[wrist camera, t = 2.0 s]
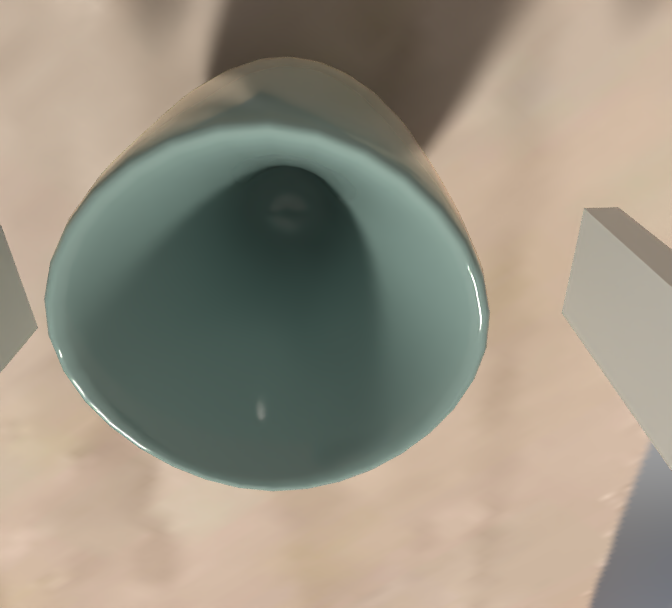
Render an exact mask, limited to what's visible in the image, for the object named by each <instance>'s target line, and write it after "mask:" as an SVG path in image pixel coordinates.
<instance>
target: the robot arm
mask: <svg viewBox="0 0 672 608" xmlns="http://www.w3.org/2000/svg"><path fill="white" fill-rule="evenodd" d="M562 314H563V316H564V317H565V318H566V320H567V321H568V323H569V324H570V326H571V327H572V328H573V330H574V331H575V333H576V334H577V336H578V337H579V339H580V340H581V341H582V343H583V344H584V346H585V347H586V349H587V350H588V351H589V353H590V354H591V356H592V357H593V359H594V360H595V362H596V363H597V364H598V366H599V367H600V369H601V370H602V372H603V373H604V374H605V376H606V377H607V379H608V380H609V382H610V383H611V385H612V386H613V387H614V389H615V390H616V392H617V393H618V395H619V396H620V397H621V399H622V400H623V402H624V403H625V405H626V406H627V408H628V409H629V410H630V412H631V413H632V415H633V416H634V418H635V419H636V420H637V422H638V423H639V425H640V426H641V428H642V429H643V431H644V432H645V433H646V435H647V436H648V438H649V439H650V441H651V442H652V443H653V445H654V446H655V448H656V449H657V451H658V452H659V454H660V455H661V456H662V458H663V459H664V461H665V462H666V463H667V465H668V466H669V468H670V469H671V471H672V249H670V248H669V247H668V246H667V245H665V244H664V243H663V242H662V241H660V240H659V239H658V238H656V237H655V236H654V235H653V234H651V233H650V232H649V231H648V230H646V229H645V228H644V227H643V226H641V225H640V224H639V223H637V222H636V221H635V220H634V219H632V218H631V217H630V216H629V215H627V214H626V213H625V212H624V211H622V210H621V209H620V208H618V207H613V208H584V211H583V216H582V221H581V225H580V230H579V235H578V239H577V244H576V249H575V253H574V258H573V263H572V267H571V272H570V277H569V282H568V286H567V291H566V296H565V300H564V305H563V310H562ZM37 328H38V327H37V324H36V321H35V318H34V316H33V313H32V310H31V307H30V304H29V302H28V299H27V296H26V293H25V291H24V288H23V285H22V282H21V279H20V277H19V274H18V271H17V268H16V265H15V263H14V260H13V257H12V254H11V252H10V249H9V246H8V243H7V240H6V238H5V235H4V232H3V229H2V226H1V225H0V372H1V371H2V370H3V369H4V368H5V366H6V365H7V364H8V363H9V362H10V361H11V359H12V358H13V357H14V356H15V355H16V353H17V352H18V351H19V350H20V349H21V347H22V346H23V345H24V344H25V343H26V341H27V340H28V339H29V338H30V337H31V335H32V334H33V333H34V332H35V331H36V329H37Z"/></svg>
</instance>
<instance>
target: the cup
mask: <svg viewBox="0 0 672 608" xmlns="http://www.w3.org/2000/svg"><path fill="white" fill-rule="evenodd" d="M44 300H45V309H46V317H47V326H48V334H49V337H50V339H51V342H52V344H53V347H54V349H55V351H56V354H57V356H58V359H59V361H60V364H61V366H62V368H63V371H64V372H65V374H66V375H67V377H68V378H69V379H70V381H71V382H72V384H73V385H74V387H75V388H76V389H77V391H78V392H79V394H80V395H81V396H82V398H83V399H84V401H85V402H86V403H87V404H88V405H89V406H90V407H91V408H92V409H93V410H94V411H95V412H96V413H97V414H98V415H99V416H100V417H101V418H102V419H103V420H104V421H105V422H106V423H107V424H108V425H110V426H111V427H112V428H113V429H115V430H116V431H117V432H119V433H120V434H121V435H123V436H124V437H125V438H127V439H128V440H129V441H131V442H132V443H133V444H135V445H136V446H138V447H139V448H140V449H142V450H144V451H146V452H147V453H149V454H151V455H153V456H155V457H156V458H158V459H160V460H162V461H164V462H165V463H167V464H169V465H171V466H173V467H175V468H178V469H180V470H183V471H186V472H188V473H191V474H193V475H196V476H198V477H201V478H203V479H206V480H210V481H214V482H218V483H222V484H226V485H230V486H234V487H238V488H246V489H257V490H267V491H282V490H297V489H308V488H313V487H317V486H322V485H327V484H331V483H336V482H340V481H343V480H345V479H348V478H351V477H353V476H356V475H359V474H361V473H364V472H367V471H369V470H372V469H374V468H376V467H378V466H379V465H381V464H383V463H385V462H387V461H389V460H391V459H393V458H394V457H396V456H398V455H400V454H402V453H403V452H405V451H406V450H407V449H409V448H410V447H411V446H413V445H414V444H416V443H417V442H418V441H420V440H421V439H422V438H424V437H425V436H426V435H428V434H429V433H430V432H431V431H432V430H433V429H434V428H435V427H436V426H437V425H438V424H439V423H440V422H441V421H442V420H443V419H444V418H445V417H446V416H447V415H448V414H449V413H450V412H451V411H452V410H453V409H454V408H455V406H456V405H457V403H458V402H459V401H460V399H461V398H462V396H463V395H464V393H465V392H466V390H467V389H468V387H469V386H470V384H471V383H472V381H473V380H474V379H475V376H476V374H477V371H478V368H479V366H480V363H481V361H482V358H483V355H484V353H485V350H486V348H487V339H488V328H489V317H490V310H489V302H488V296H487V290H486V285H485V279H484V273H483V268H482V266H481V263H480V260H479V257H478V255H477V252H476V250H475V248H474V245H473V243H472V241H471V238H470V236H469V234H468V231H467V229H466V227H465V224H464V222H463V220H462V218H461V216H460V213H459V211H458V209H457V208H456V206H455V204H454V202H453V200H452V198H451V196H450V195H449V193H448V191H447V189H446V187H445V186H444V184H443V182H442V180H441V179H440V177H439V175H438V174H437V172H436V170H435V169H434V167H433V165H432V164H431V162H430V161H429V159H428V158H427V156H426V155H425V153H424V152H423V150H422V149H421V147H420V146H419V144H418V143H417V141H416V140H415V138H414V137H413V135H412V134H411V132H410V131H409V130H408V128H407V127H406V125H405V124H404V123H403V122H402V120H401V119H400V118H399V117H398V116H397V115H396V114H395V113H394V112H393V111H392V110H391V109H390V108H389V107H388V106H387V105H386V104H385V103H384V102H383V101H382V100H381V99H380V98H379V97H378V96H377V95H376V94H375V93H374V92H373V91H372V90H370V89H369V88H367V87H366V86H365V85H363V84H362V83H360V82H359V81H357V80H356V79H355V78H353V77H352V76H350V75H349V74H347V73H345V72H343V71H340V70H338V69H336V68H333V67H331V66H329V65H326V64H324V63H322V62H319V61H314V60H308V59H303V58H297V57H292V56H288V57H275V58H263V59H258V60H255V61H252V62H249V63H246V64H243V65H240V66H237V67H234V68H231V69H229V70H226V71H224V72H223V73H221V74H219V75H218V76H216V77H214V78H213V79H211V80H209V81H207V82H206V83H204V84H202V85H201V86H199V87H197V88H196V89H194V90H193V91H191V92H190V93H188V94H187V95H186V96H184V97H183V98H182V99H181V100H179V101H178V102H177V103H176V104H175V105H174V106H173V107H171V108H170V109H169V110H168V111H167V112H166V113H165V114H164V115H163V116H161V117H160V118H159V119H158V120H157V121H156V122H155V123H154V124H152V125H151V126H150V127H149V128H148V129H147V130H146V131H145V132H144V133H142V134H141V135H140V136H139V137H138V138H137V139H136V140H135V141H134V142H133V143H132V144H131V145H130V146H128V147H127V148H126V149H125V150H124V151H123V152H122V153H121V154H120V155H119V156H118V157H117V158H116V159H115V160H114V161H113V162H112V163H111V164H110V165H109V166H108V167H107V168H106V169H105V170H104V171H103V173H102V174H101V175H100V176H99V178H98V179H97V180H96V182H95V183H94V185H93V186H92V187H91V189H90V190H89V191H88V193H87V194H86V195H85V197H84V198H83V200H82V201H81V202H80V204H79V205H78V206H77V208H76V209H75V211H74V212H73V213H72V215H71V216H70V218H69V220H68V222H67V224H66V227H65V229H64V231H63V234H62V236H61V238H60V240H59V243H58V245H57V247H56V250H55V252H54V254H53V257H52V259H51V262H50V267H49V274H48V280H47V286H46V292H45V299H44Z"/></svg>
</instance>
